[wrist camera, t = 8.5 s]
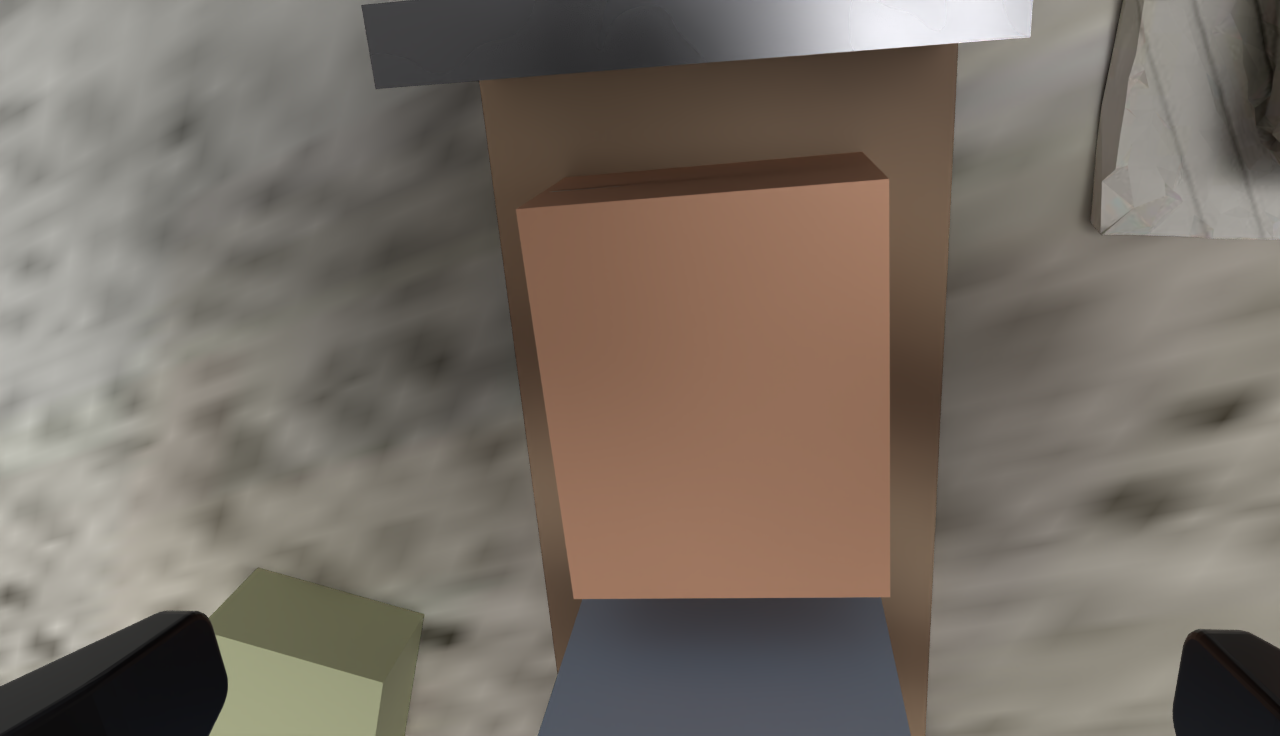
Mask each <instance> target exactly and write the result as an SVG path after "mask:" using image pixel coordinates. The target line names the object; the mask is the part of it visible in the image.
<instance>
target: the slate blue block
mask: <svg viewBox="0 0 1280 736" xmlns="http://www.w3.org/2000/svg"><path fill="white" fill-rule="evenodd" d="M538 736H911V734H910V729H909V724H908V720H907V715H906V711H905V706H904V701H903V697H902V692H901V688H900V683H899V678H898V674H897V669H896V665H895V660H894V655H893V651H892V646H891V642H890V637H889V632H888V628H887V623H886V619H885V614H884V609H883V605H882V600H881V597H845V598H672V599H582V602H581V605H580V608H579V611H578V614H577V617H576V620H575V623H574V627H573V630H572V633H571V636H570V639H569V642H568V645H567V648H566V651H565V654H564V657H563V660H562V663H561V666H560V669H559V672H558V675H557V678H556V682H555V685H554V688H553V691H552V694H551V697H550V700H549V703H548V706H547V709H546V712H545V715H544V718H543V721H542V724H541V727H540V730H539V734H538Z"/></svg>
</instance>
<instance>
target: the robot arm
mask: <svg viewBox="0 0 1280 736" xmlns="http://www.w3.org/2000/svg"><path fill="white" fill-rule="evenodd" d="M227 692H228V677H227V673H226V669H225V666H224V663H223V659H222V656H221V652H220V649H219V646H218V642H217V639H216V635H215V632H214V629H213V625H212V623H211V621H210V619H209V618H208V617H207V616H206V615H205V614H204V613H201V612H199V611H163V612H159V613H156V614H154V615H152V616H150V617H148V618H145V619H143V620H141V621H139V622H137V623H135V624H133V625H131V626H128V627H126V628H124V629H122V630H120V631H118V632H116V633H113V634H111V635H109V636H107V637H105V638H103V639H101V640H98V641H96V642H94V643H92V644H90V645H88V646H86V647H84V648H81V649H79V650H77V651H75V652H73V653H71V654H69V655H66V656H64V657H62V658H60V659H58V660H56V661H54V662H51V663H49V664H47V665H45V666H43V667H41V668H39V669H37V670H34V671H32V672H30V673H28V674H26V675H24V676H22V677H19V678H17V679H15V680H13V681H11V682H9V683H7V684H4V685H2V686H0V736H209V735H210V733H211V731H212V729H213V727H214V724H215V722H216V720H217V718H218V716H219V714H220V712H221V710H222V708H223V706H224V703H225V700H226V697H227ZM1173 723H1174V728H1175V733H1176V736H1280V649H1279V648H1277V647H1275V646H1273V645H1272V644H1270V643H1268V642H1266V641H1264V640H1263V639H1261V638H1259V637H1257V636H1255V635H1253V634H1251V633H1249V632H1246V631H1242V630H1212V629H1198V630H1195V631H1193V632H1191V633H1190V634H1188V636H1187V638H1186V639H1185V642H1184V645H1183V650H1182V656H1181V662H1180V668H1179V674H1178V679H1177V685H1176V691H1175V697H1174V702H1173Z"/></svg>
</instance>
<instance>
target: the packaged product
mask: <svg viewBox="0 0 1280 736" xmlns="http://www.w3.org/2000/svg"><path fill="white" fill-rule="evenodd" d="M1090 222H1091V223H1092V224H1093V226H1094V227H1095V228H1096V229H1097V230H1098V232H1099V233H1100V234H1101V235H1154V236H1187V237H1200V238H1212V239H1266V240H1276V239H1280V0H1123V3H1122V8H1121V13H1120V18H1119V23H1118V28H1117V33H1116V38H1115V43H1114V48H1113V53H1112V58H1111V63H1110V68H1109V72H1108V77H1107V82H1106V87H1105V92H1104V97H1103V102H1102V107H1101V115H1100V123H1099V130H1098V138H1097V148H1096V160H1095V173H1094V186H1093V199H1092V211H1091V221H1090Z"/></svg>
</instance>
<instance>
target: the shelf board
mask: <svg viewBox="0 0 1280 736" xmlns="http://www.w3.org/2000/svg"><path fill="white" fill-rule="evenodd" d="M957 58H958V43H951V44H938V45H926V46H913V47H900V48H888V49H875V50H862V51H850V52H837V53H824V54H811V55H799V56H786V57H773V58H761V59H748V60H735V61H723V62H710V63H697V64H685V65H672V66H659V67H647V68H634V69H621V70H608V71H596V72H583V73H570V74H558V75H545V76H532V77H520V78H507V79H494V80H482V81H479V83H480V91H481V99H482V106H483V114H484V121H485V129H486V136H487V144H488V152H489V159H490V167H491V174H492V182H493V189H494V197H495V204H496V212H497V220H498V227H499V235H500V242H501V250H502V257H503V265H504V273H505V280H506V288H507V295H508V303H509V310H510V318H511V326H512V333H513V341H514V348H515V356H516V363H517V371H518V378H519V386H520V394H521V401H522V409H523V416H524V424H525V431H526V439H527V447H528V454H529V462H530V469H531V477H532V484H533V492H534V500H535V507H536V515H537V522H538V530H539V537H540V545H541V553H542V560H543V568H544V575H545V583H546V590H547V598H548V605H549V613H550V621H551V628H552V636H553V643H554V651H555V658H556V666H557V674H558V672H559V669H560V666H561V663H562V660H563V657H564V654H565V651H566V648H567V645H568V642H569V639H570V636H571V633H572V630H573V627H574V623H575V620H576V617H577V614H578V611H579V608H580V605H581V602H582V599H574V597H573V591H572V584H571V577H570V571H569V564H568V557H567V550H566V544H565V537H564V530H563V524H562V517H561V510H560V503H559V497H558V490H557V483H556V477H555V470H554V463H553V456H552V450H551V443H550V436H549V430H548V423H547V416H546V409H545V403H544V396H543V389H542V383H541V376H540V369H539V362H538V356H537V349H536V342H535V336H534V329H533V322H532V315H531V309H530V302H529V295H528V289H527V282H526V275H525V268H524V262H523V255H522V248H521V242H520V235H519V228H518V221H517V215H516V209H517V208H518V207H520V206H522V205H523V204H525V203H526V202H528V201H529V200H531V199H532V198H534V197H535V196H537V195H539V194H540V193H542V192H543V191H545V190H546V189H548V188H549V187H551V186H552V185H554V184H556V183H557V182H559V181H560V180H562V179H563V178H565V177H576V176H587V175H599V174H610V173H622V172H633V171H645V170H656V169H668V168H680V167H691V166H703V165H714V164H726V163H737V162H749V161H760V160H772V159H784V158H795V157H807V156H818V155H830V154H841V153H853V152H863V153H864V154H865V155H866V156H867V157H868V158H869V159H870V160H871V161H872V162H873V163H874V164H875V165H876V166H877V167H878V168H879V169H880V170H881V171H882V172H883V173H884V174H885V175H886V176H887V177H888V178H889V289H890V597H881V600H882V605H883V609H884V614H885V619H886V623H887V628H888V632H889V637H890V642H891V646H892V651H893V655H894V660H895V665H896V669H897V674H898V678H899V683H900V688H901V692H902V697H903V701H904V706H905V711H906V715H907V720H908V724H909V729H910V734H911V736H925V730H926V709H927V688H928V667H929V646H930V625H931V604H932V583H933V562H934V541H935V520H936V499H937V478H938V457H939V436H940V415H941V394H942V373H943V352H944V331H945V310H946V289H947V268H948V247H949V226H950V205H951V184H952V163H953V142H954V121H955V100H956V79H957Z"/></svg>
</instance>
